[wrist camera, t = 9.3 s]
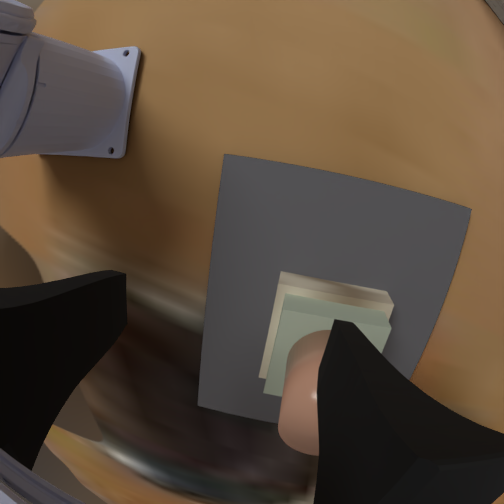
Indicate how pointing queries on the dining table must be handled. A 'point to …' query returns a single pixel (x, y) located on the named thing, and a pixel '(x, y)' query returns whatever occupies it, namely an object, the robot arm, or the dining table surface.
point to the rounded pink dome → (302, 393)
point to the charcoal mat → (316, 265)
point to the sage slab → (316, 319)
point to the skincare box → (497, 8)
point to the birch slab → (322, 292)
